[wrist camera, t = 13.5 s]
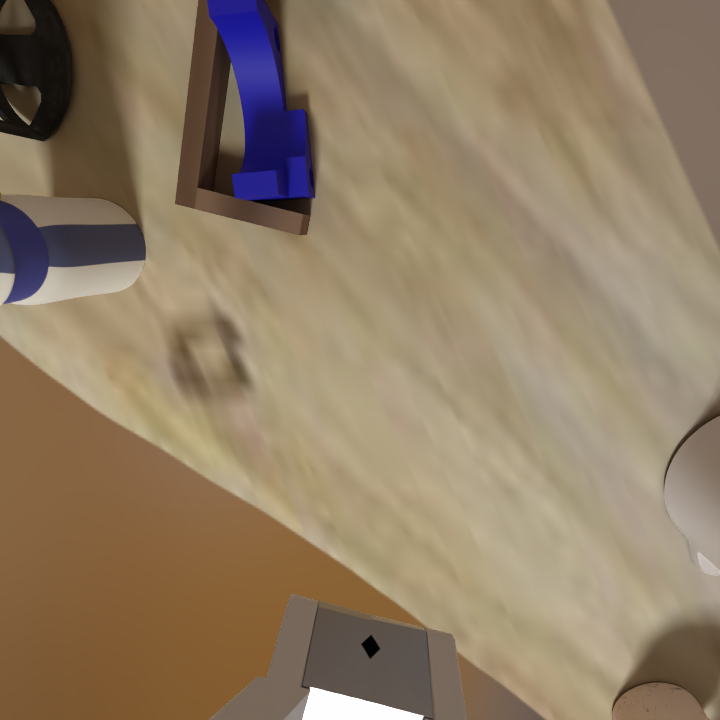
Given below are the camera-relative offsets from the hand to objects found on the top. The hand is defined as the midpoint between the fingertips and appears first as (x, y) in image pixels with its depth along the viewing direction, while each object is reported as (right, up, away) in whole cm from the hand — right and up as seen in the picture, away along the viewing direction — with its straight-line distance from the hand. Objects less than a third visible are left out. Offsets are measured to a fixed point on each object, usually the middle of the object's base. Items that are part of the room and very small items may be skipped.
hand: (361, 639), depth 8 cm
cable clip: (-6, +24, +27) cm, 36 cm away
